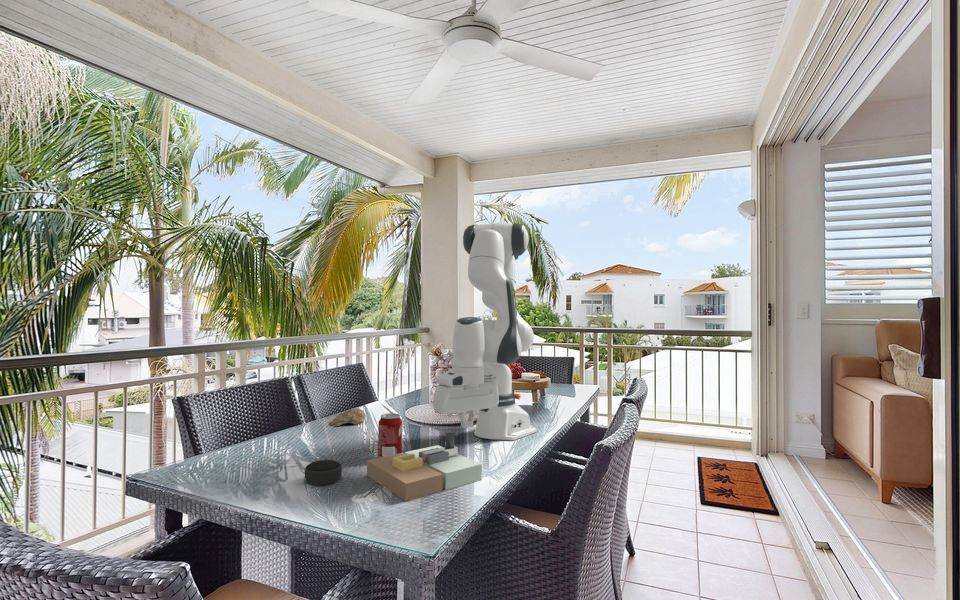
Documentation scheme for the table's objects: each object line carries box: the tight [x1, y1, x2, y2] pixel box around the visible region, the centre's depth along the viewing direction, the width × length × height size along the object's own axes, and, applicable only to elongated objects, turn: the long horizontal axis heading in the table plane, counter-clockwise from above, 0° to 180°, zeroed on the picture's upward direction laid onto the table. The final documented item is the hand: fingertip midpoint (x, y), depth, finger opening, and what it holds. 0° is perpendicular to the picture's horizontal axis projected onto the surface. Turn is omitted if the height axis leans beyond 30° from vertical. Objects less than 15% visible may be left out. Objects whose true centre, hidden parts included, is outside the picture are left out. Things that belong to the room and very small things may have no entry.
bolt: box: [422, 430, 459, 462], centre depth 128 cm, size 10×2×6 cm, turn 129°
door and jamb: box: [366, 444, 483, 502], centre depth 125 cm, size 22×20×6 cm
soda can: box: [377, 412, 403, 458], centre depth 141 cm, size 7×7×12 cm
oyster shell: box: [330, 407, 367, 427], centre depth 179 cm, size 10×12×5 cm
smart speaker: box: [304, 459, 343, 486], centre depth 123 cm, size 9×9×4 cm
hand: (467, 427), depth 133 cm, fingers closed
